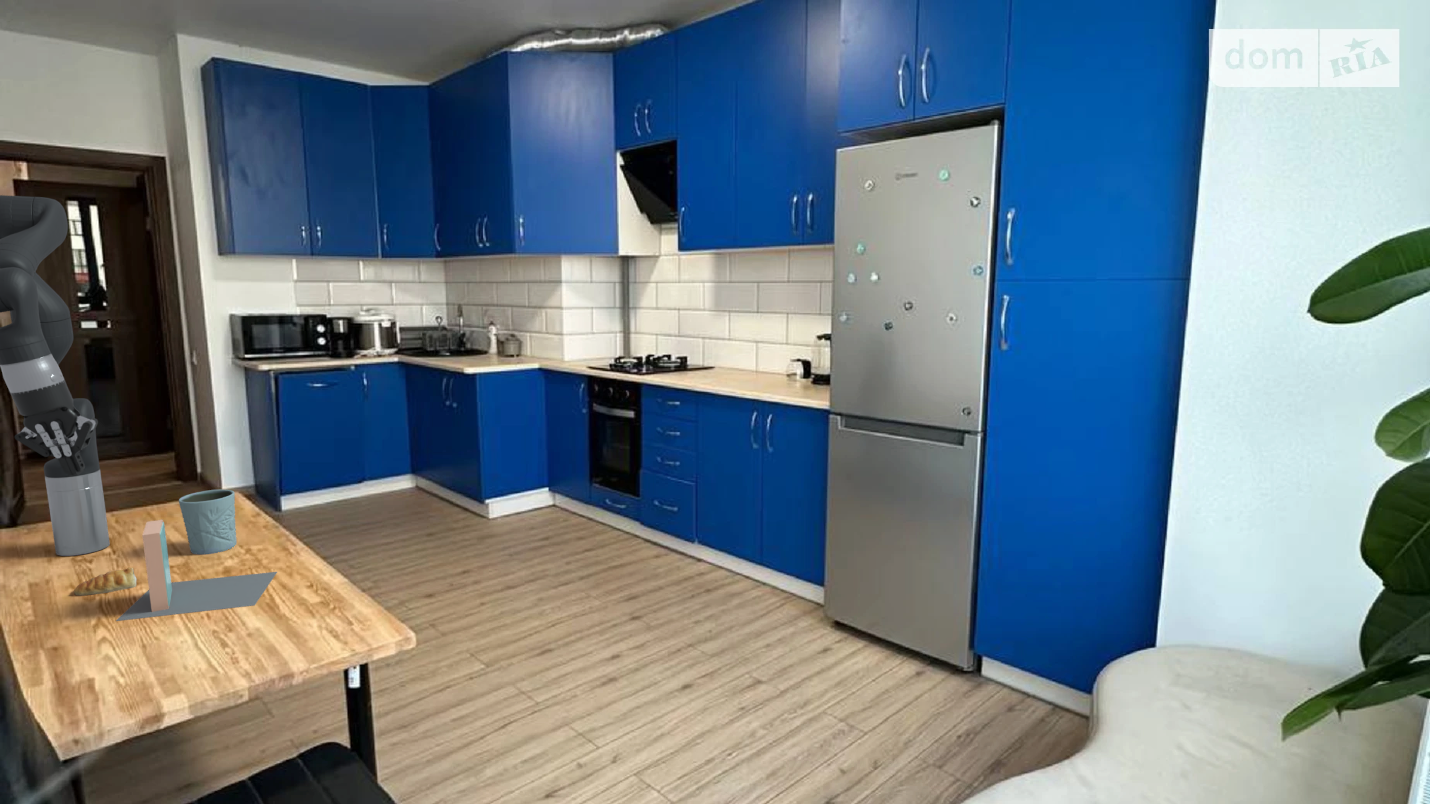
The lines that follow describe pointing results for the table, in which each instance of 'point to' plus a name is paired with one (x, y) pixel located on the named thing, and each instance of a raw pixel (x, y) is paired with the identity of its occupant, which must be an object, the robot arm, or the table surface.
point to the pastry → (107, 583)
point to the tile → (157, 565)
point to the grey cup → (209, 520)
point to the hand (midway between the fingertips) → (76, 473)
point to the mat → (205, 595)
